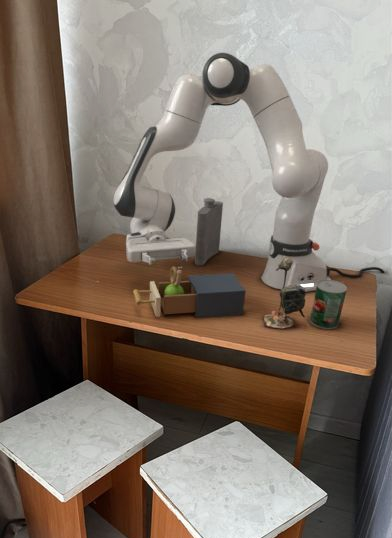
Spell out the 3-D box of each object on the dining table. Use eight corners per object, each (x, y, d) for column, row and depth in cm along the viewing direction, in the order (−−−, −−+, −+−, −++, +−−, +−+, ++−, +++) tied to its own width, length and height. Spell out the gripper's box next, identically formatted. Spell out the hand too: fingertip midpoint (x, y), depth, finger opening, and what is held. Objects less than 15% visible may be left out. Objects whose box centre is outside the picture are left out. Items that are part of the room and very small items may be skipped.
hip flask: (201, 266, 165) (205, 206, 155) (190, 263, 167) (194, 204, 156) (220, 251, 178) (225, 194, 167) (209, 248, 179) (213, 192, 168)
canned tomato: (344, 325, 136) (353, 288, 131) (324, 331, 133) (332, 294, 127) (323, 312, 142) (331, 277, 136) (303, 319, 138) (310, 282, 132)
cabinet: (196, 317, 135) (197, 293, 131) (186, 299, 144) (188, 275, 140) (242, 314, 138) (245, 290, 134) (230, 296, 148) (233, 273, 144)
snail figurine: (169, 309, 134) (171, 268, 128) (161, 299, 139) (162, 259, 133) (188, 306, 136) (190, 265, 130) (179, 296, 141) (180, 256, 135)
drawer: (137, 318, 132) (137, 298, 129) (132, 300, 140) (132, 282, 137) (200, 313, 136) (201, 295, 132) (192, 297, 144) (193, 279, 141)
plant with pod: (302, 333, 131) (317, 263, 120) (260, 327, 133) (270, 257, 122) (303, 319, 138) (317, 251, 127) (263, 313, 139) (273, 245, 129)
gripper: (186, 250, 153) (203, 267, 142) (121, 255, 146) (133, 274, 136) (187, 230, 150) (204, 246, 139) (121, 235, 143) (133, 252, 132)
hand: (169, 260), depth 137 cm, fingers open, 8 cm apart
